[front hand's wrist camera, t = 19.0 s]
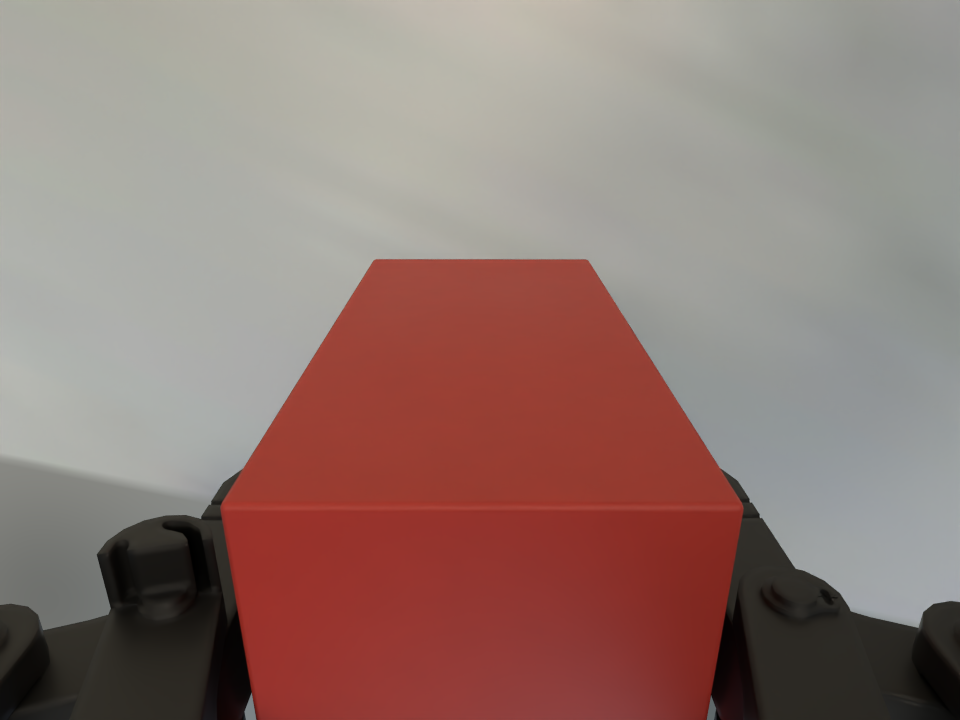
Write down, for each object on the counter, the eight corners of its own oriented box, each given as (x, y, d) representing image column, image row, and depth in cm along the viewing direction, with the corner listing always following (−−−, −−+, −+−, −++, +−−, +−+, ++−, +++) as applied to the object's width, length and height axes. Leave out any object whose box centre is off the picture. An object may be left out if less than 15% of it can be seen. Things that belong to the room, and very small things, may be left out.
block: (388, 516, 17) (294, 956, 8) (373, 258, 14) (215, 506, 6) (572, 517, 17) (667, 956, 8) (589, 259, 14) (747, 505, 6)
